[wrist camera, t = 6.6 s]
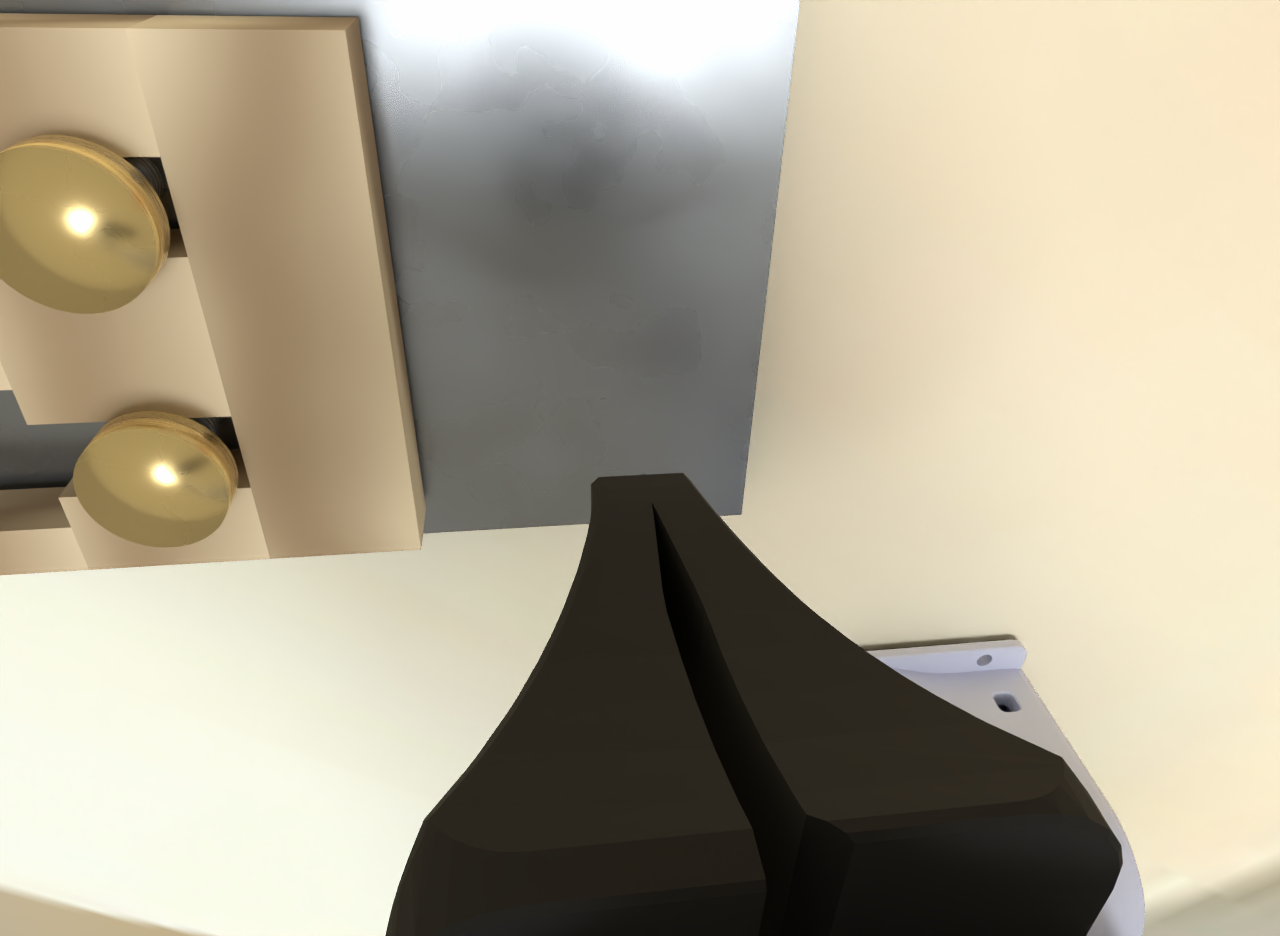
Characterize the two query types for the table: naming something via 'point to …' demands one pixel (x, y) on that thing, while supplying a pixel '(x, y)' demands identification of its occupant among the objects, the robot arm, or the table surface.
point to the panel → (223, 283)
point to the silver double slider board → (473, 255)
